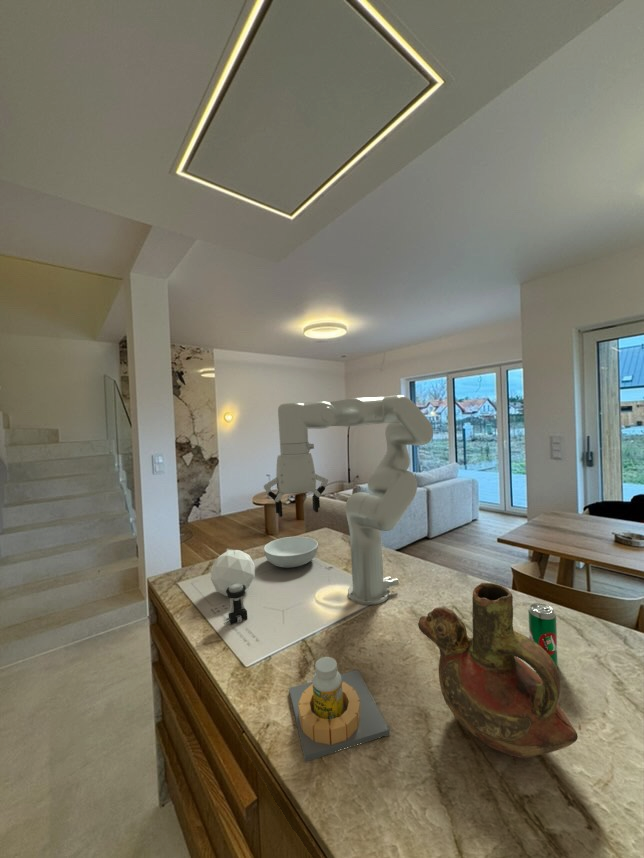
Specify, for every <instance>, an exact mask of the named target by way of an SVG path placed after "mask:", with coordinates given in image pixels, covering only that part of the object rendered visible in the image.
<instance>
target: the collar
mask: <svg viewBox="0 0 644 858" xmlns="http://www.w3.org/2000/svg"><path fill="white" fill-rule="evenodd" d="M342 694H343V704H344V705H345V706H346V707H347V710H346V711H345V712H344V713H343V714H342V715H341V716H340V717H337V718H334V719H330V720H329V719H323V718H319V717H318V716H316V715H315V714H314V713H313V712H312V710H313V708H314V697H313V684H312V685H311V686H309V687H308V688H307V689H306V690H305V691H304V692H303V693H302V696H301V698H300V701H299V703H298V708H299V720H300V724H301V728H302V730H303V732H304V733H305V734H306V735H307V736H308V737H309V738H310V739H312V740H313V741H314V740H315V742H319V743H324V744H329V745H330V742H331V744H335V743H338V742H341V741H345V740H346V738H349V737H350V736H351V735H352V734H353V733H354V732H355V731H356V730H357V729H358V727H359V722H360V716H361V711H360V699H359V697H358V695H357V693H356V691H355V690H354V688H353V687H351V686H350V685H348V684H347V683H345V682H343V683H342Z"/></svg>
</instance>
